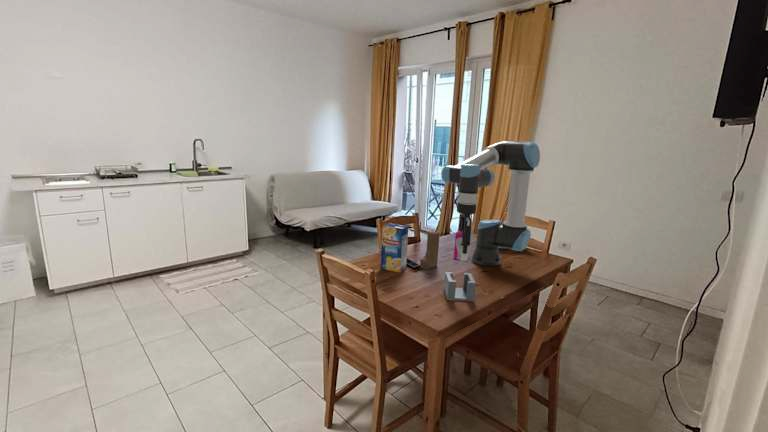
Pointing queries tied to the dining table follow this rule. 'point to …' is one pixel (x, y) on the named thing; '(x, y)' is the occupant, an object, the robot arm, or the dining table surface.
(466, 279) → the socket block
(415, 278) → the dining table surface
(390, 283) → the dining table surface
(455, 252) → the supplement box
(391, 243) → the beverage box
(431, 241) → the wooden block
